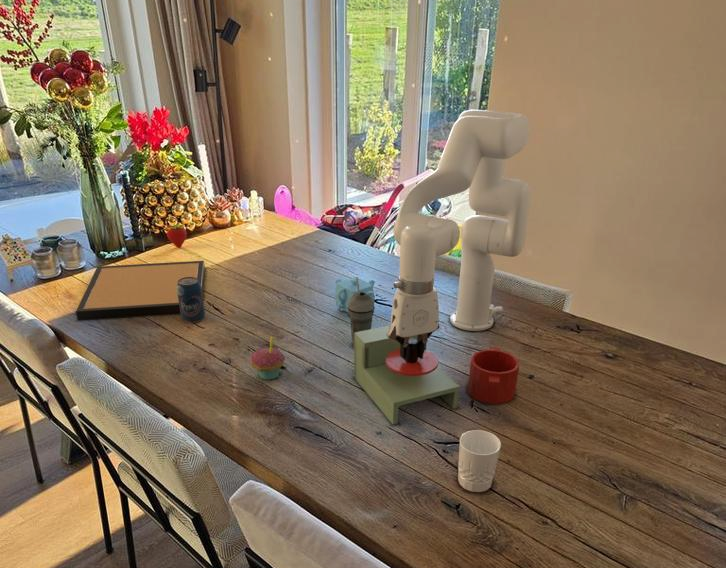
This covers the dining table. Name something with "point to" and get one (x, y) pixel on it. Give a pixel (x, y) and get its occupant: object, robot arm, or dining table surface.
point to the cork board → (136, 289)
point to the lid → (412, 361)
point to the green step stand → (395, 375)
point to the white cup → (477, 460)
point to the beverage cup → (360, 311)
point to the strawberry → (177, 235)
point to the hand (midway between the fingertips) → (411, 357)
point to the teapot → (351, 291)
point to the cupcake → (267, 361)
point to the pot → (493, 376)
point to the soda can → (190, 299)
